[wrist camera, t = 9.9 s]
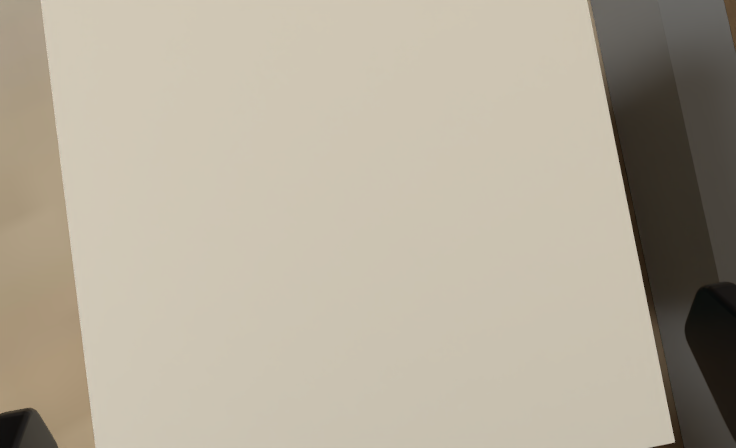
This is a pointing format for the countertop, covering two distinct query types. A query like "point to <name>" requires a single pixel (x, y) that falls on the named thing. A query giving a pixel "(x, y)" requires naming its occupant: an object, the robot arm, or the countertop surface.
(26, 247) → the countertop surface
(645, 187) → the price rail
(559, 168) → the cream carton
